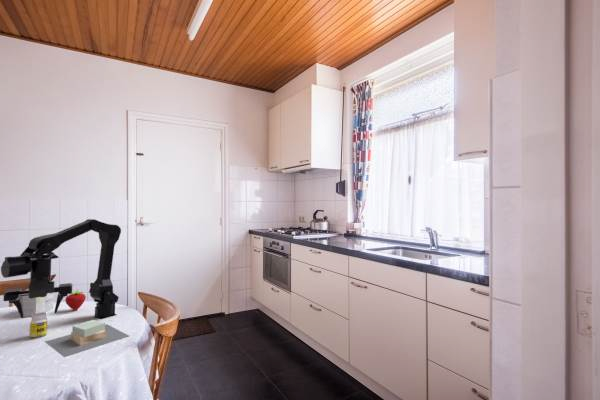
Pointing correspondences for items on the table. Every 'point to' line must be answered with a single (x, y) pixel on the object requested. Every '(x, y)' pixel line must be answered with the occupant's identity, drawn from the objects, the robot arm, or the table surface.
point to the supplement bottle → (38, 326)
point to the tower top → (88, 328)
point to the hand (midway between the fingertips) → (39, 315)
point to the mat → (70, 347)
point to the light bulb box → (37, 304)
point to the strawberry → (75, 300)
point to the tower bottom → (88, 338)
